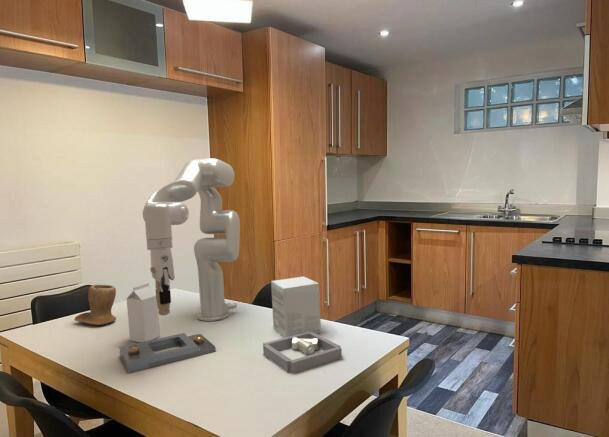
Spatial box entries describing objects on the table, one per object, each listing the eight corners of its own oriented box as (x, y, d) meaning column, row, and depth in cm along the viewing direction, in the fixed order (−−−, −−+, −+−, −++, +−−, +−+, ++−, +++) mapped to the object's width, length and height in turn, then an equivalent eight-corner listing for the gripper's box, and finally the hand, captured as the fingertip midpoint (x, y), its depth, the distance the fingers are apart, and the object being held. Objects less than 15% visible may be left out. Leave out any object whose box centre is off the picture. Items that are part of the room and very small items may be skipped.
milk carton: (160, 336, 155) (156, 283, 153) (145, 343, 148) (140, 288, 147) (145, 334, 158) (141, 282, 156) (129, 341, 151) (125, 287, 150)
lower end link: (200, 337, 151) (200, 329, 151) (215, 351, 139) (215, 341, 138) (138, 352, 141) (137, 342, 141) (148, 368, 128) (147, 357, 128)
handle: (177, 312, 138) (174, 265, 137) (159, 318, 133) (156, 269, 132) (168, 310, 141) (165, 264, 140) (150, 315, 136) (147, 267, 135)
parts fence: (311, 339, 145) (310, 330, 145) (344, 357, 129) (343, 347, 129) (261, 353, 135) (260, 343, 135) (290, 374, 120) (289, 363, 120)
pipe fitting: (315, 358, 132) (319, 347, 138) (314, 345, 131) (318, 336, 138) (289, 356, 133) (294, 346, 140) (288, 344, 133) (294, 335, 139)
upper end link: (184, 341, 149) (183, 328, 148) (198, 355, 136) (197, 341, 135) (120, 356, 138) (118, 342, 138) (128, 373, 125) (127, 357, 125)
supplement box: (306, 322, 163) (304, 275, 162) (321, 332, 151) (319, 282, 150) (272, 328, 158) (270, 280, 156) (285, 339, 146) (283, 288, 144)
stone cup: (124, 319, 176) (121, 283, 175) (98, 329, 166) (94, 290, 164) (100, 315, 183) (97, 280, 182) (73, 324, 173) (70, 287, 172)
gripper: (179, 245, 130) (183, 305, 131) (165, 240, 144) (168, 295, 146) (153, 247, 126) (157, 310, 128) (141, 242, 140) (145, 298, 142)
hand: (163, 301), depth 137 cm, fingers closed on handle, 3 cm apart
